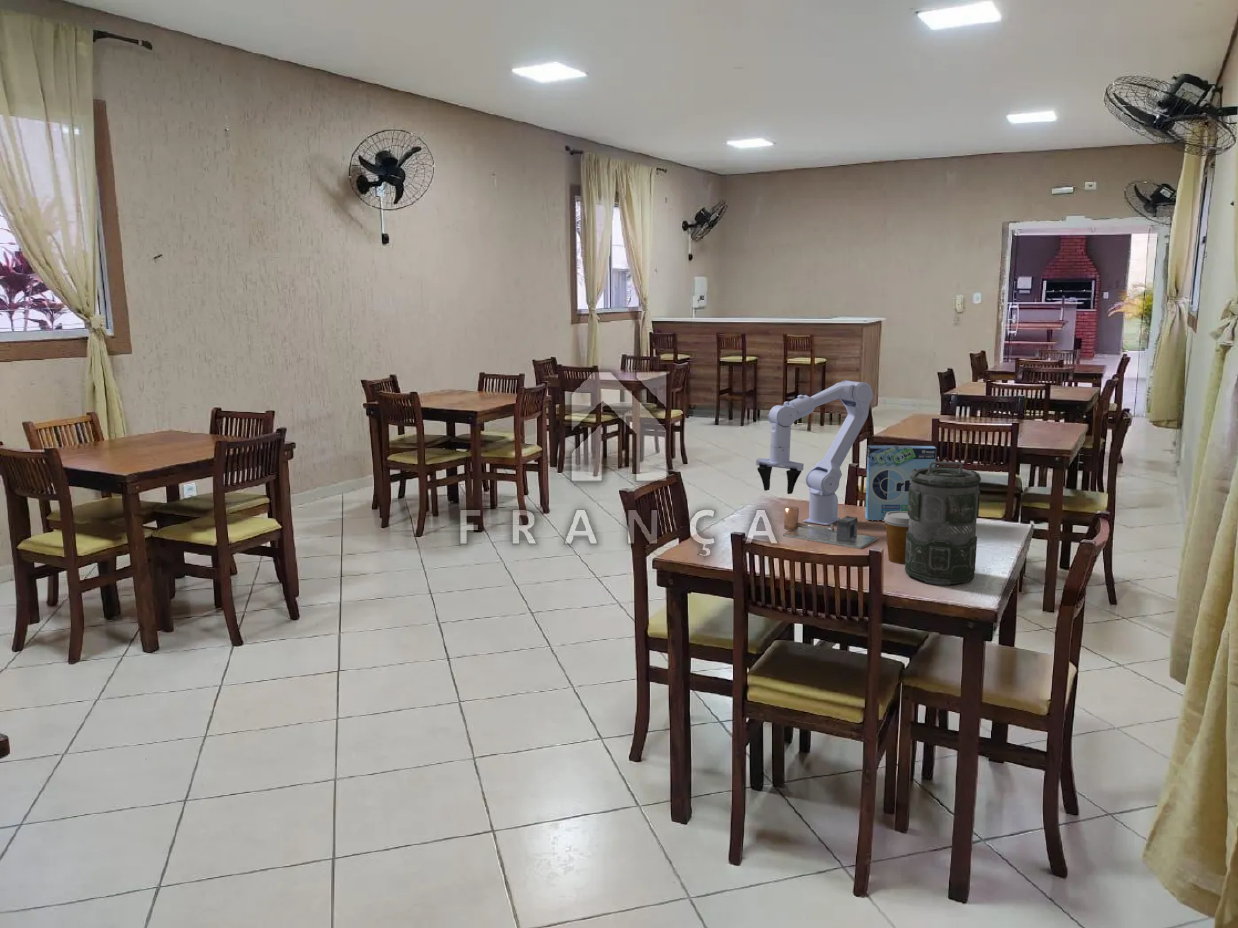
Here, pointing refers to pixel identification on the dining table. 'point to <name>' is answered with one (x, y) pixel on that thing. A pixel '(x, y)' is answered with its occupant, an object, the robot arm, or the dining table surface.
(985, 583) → the dining table surface
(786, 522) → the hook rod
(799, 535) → the grey plate
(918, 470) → the canister
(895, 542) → the disposable coffee cup
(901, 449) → the gum box
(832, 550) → the dining table surface
